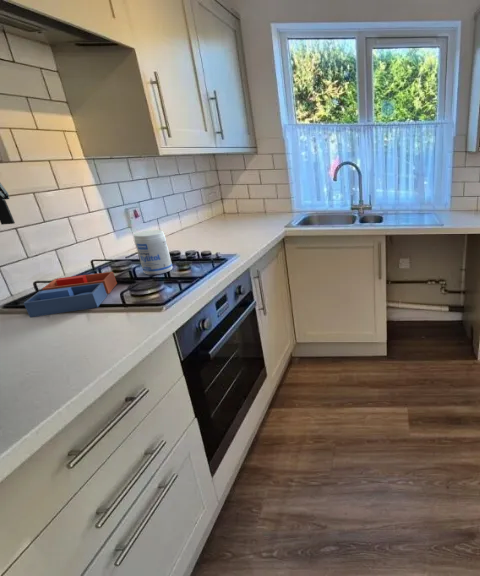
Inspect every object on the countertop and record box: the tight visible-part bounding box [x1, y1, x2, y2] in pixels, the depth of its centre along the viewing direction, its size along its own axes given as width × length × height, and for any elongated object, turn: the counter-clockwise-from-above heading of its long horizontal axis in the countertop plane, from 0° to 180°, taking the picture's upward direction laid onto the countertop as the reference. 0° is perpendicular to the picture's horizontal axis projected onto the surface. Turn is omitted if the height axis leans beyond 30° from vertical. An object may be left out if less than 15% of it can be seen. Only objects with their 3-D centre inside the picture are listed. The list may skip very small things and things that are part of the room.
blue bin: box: [23, 283, 108, 318], centre depth 108 cm, size 16×9×4 cm, turn 111°
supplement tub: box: [133, 229, 173, 276], centre depth 133 cm, size 10×10×15 cm
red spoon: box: [56, 274, 103, 286], centre depth 117 cm, size 12×5×5 cm, turn 110°
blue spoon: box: [39, 287, 92, 300], centre depth 108 cm, size 12×5×5 cm, turn 110°
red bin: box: [41, 271, 118, 295], centre depth 117 cm, size 16×9×4 cm, turn 110°
